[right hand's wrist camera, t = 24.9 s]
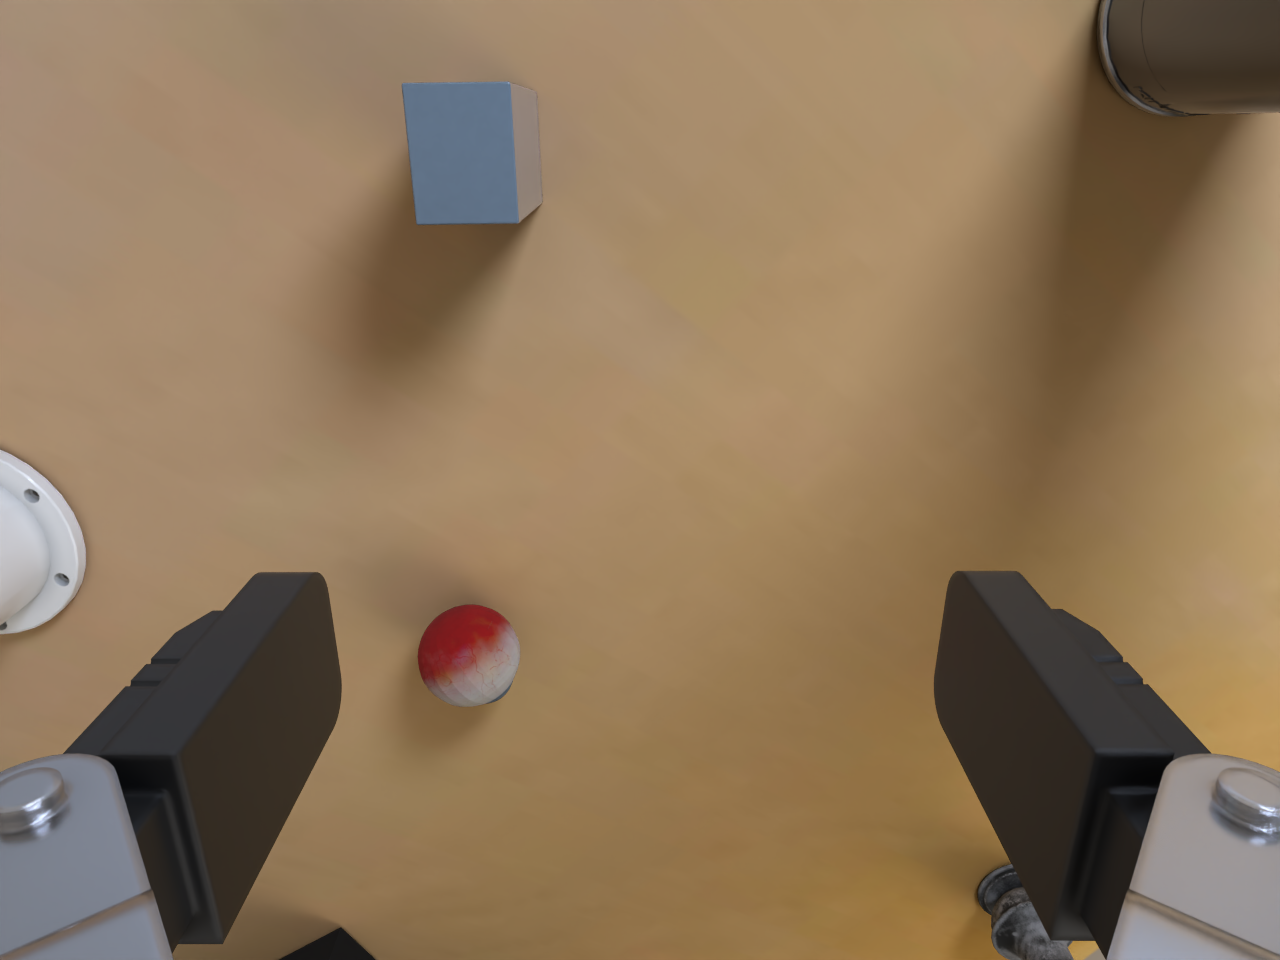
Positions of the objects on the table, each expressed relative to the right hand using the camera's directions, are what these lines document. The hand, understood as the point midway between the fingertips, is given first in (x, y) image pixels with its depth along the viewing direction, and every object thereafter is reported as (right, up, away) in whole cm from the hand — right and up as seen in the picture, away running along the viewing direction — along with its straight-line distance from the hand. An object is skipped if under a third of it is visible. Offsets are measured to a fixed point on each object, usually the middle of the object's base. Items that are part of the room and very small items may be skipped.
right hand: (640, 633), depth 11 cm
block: (-7, +19, +33) cm, 39 cm away
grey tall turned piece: (+27, -28, +53) cm, 66 cm away
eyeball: (-10, -7, +44) cm, 46 cm away
